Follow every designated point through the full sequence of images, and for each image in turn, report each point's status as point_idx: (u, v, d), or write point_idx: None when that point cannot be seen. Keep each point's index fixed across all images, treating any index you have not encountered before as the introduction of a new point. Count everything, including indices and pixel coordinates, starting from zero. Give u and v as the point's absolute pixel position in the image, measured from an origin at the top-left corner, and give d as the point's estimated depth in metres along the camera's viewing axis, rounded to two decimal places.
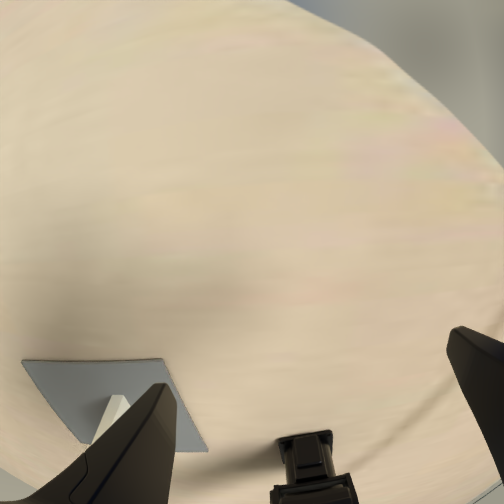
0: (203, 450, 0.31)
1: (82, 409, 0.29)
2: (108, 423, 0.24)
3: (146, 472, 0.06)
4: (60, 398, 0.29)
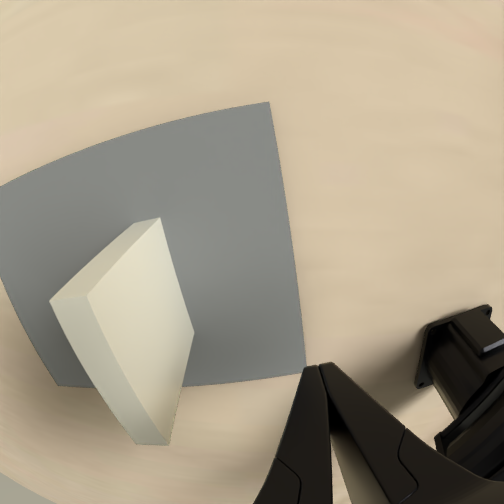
0: (299, 368, 0.19)
1: None
2: (121, 248, 0.11)
3: None
4: (27, 271, 0.16)
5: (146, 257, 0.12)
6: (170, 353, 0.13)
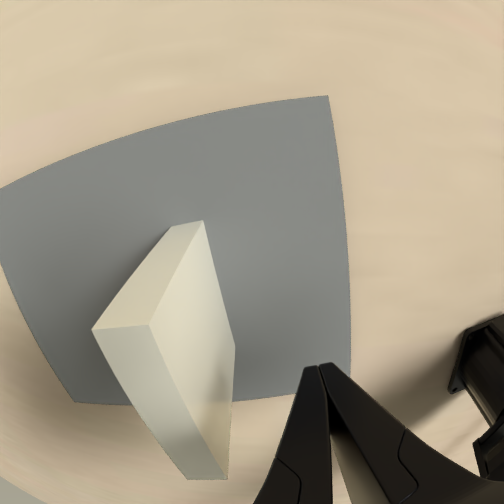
0: None
1: (85, 302, 0.15)
2: (170, 257, 0.09)
3: None
4: (41, 280, 0.14)
5: (196, 267, 0.11)
6: (221, 375, 0.11)
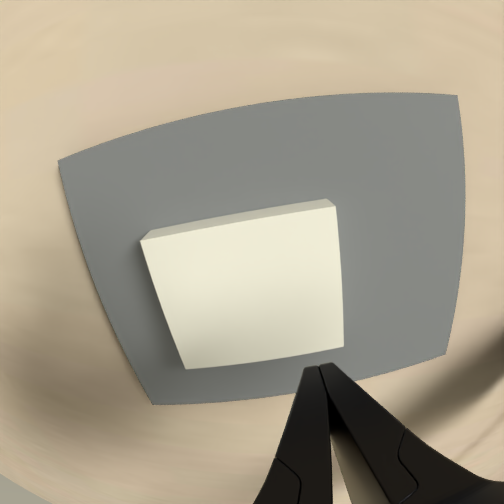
0: (440, 351, 0.17)
1: None
2: (230, 220, 0.12)
3: None
4: (143, 260, 0.14)
5: (261, 241, 0.12)
6: (253, 331, 0.14)
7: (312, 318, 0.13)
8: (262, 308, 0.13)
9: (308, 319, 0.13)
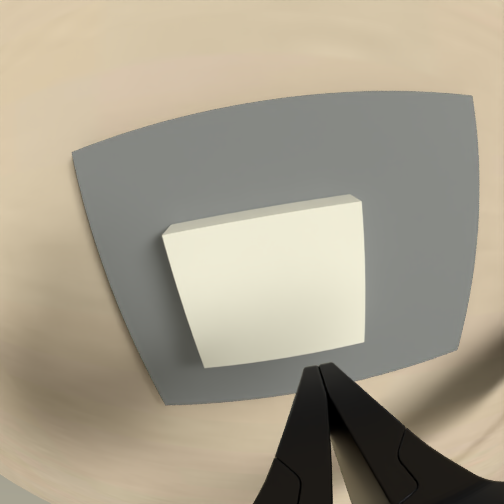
0: (452, 347, 0.16)
1: None
2: (256, 214, 0.12)
3: None
4: (162, 255, 0.14)
5: (288, 236, 0.12)
6: (276, 328, 0.13)
7: (335, 314, 0.13)
8: (286, 304, 0.13)
9: (331, 315, 0.13)
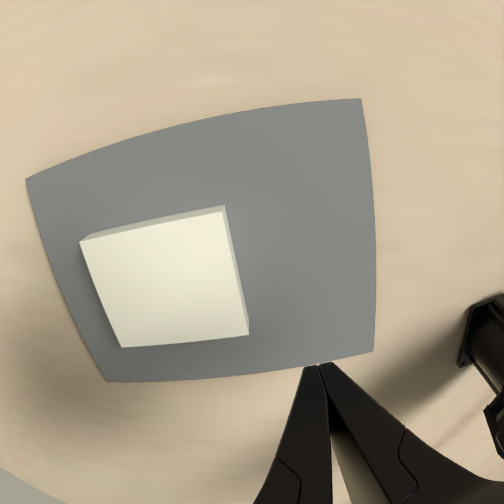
0: (366, 348, 0.19)
1: None
2: (142, 225, 0.15)
3: None
4: None
5: (164, 241, 0.15)
6: (167, 316, 0.16)
7: (215, 307, 0.16)
8: (172, 297, 0.16)
9: (211, 308, 0.16)
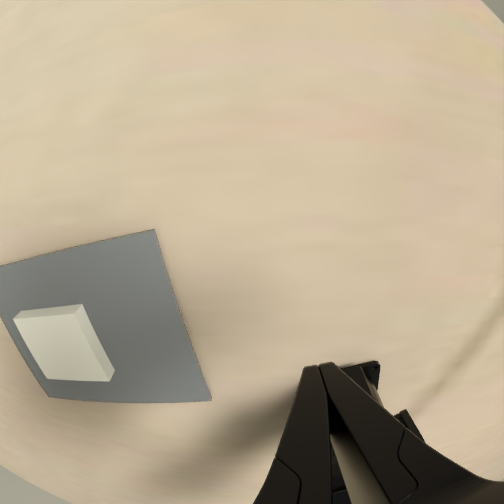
0: (205, 398, 0.25)
1: None
2: (41, 314, 0.20)
3: None
4: None
5: (51, 325, 0.20)
6: (64, 365, 0.22)
7: (86, 363, 0.22)
8: (63, 355, 0.21)
9: (84, 364, 0.22)
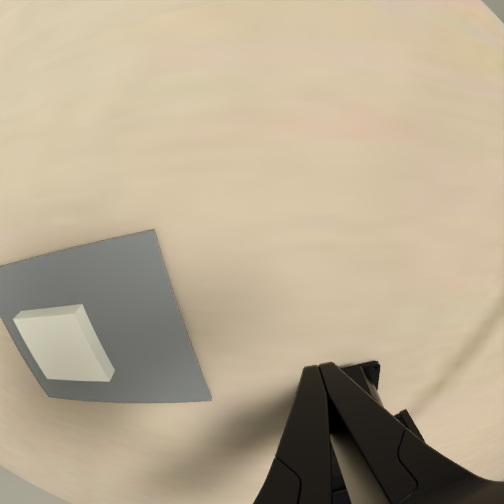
0: (205, 398, 0.25)
1: None
2: (41, 314, 0.20)
3: None
4: None
5: (51, 325, 0.20)
6: (64, 365, 0.22)
7: (86, 363, 0.22)
8: (63, 355, 0.21)
9: (84, 364, 0.22)
